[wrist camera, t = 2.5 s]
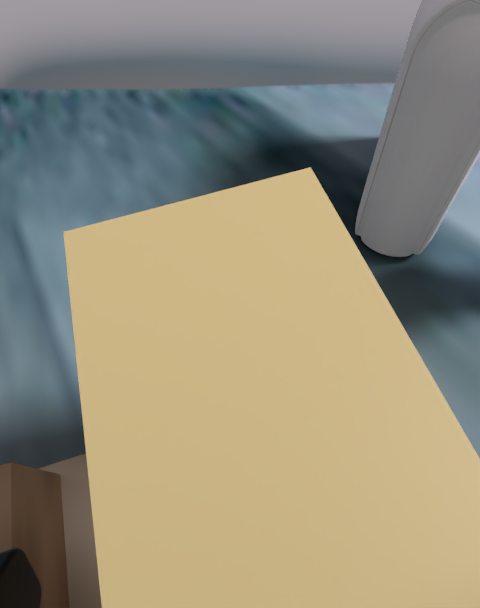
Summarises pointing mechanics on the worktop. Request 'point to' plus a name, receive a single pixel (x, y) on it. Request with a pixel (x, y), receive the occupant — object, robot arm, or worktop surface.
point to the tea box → (262, 415)
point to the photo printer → (425, 131)
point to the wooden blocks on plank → (53, 529)
